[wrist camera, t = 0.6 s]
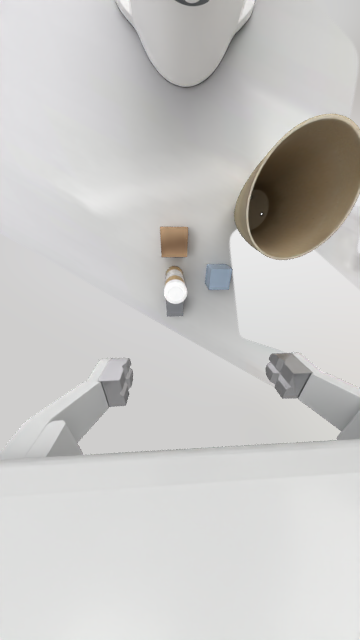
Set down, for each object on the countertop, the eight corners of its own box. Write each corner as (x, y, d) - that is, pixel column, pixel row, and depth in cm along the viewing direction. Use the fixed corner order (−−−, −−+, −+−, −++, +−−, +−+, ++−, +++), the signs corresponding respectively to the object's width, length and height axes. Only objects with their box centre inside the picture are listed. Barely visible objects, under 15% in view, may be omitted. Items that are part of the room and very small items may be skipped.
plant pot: (296, 163, 30) (398, 114, 17) (272, 246, 38) (328, 259, 24) (221, 163, 29) (264, 111, 16) (213, 247, 37) (237, 260, 24)
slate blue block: (206, 264, 40) (211, 269, 35) (225, 264, 40) (232, 269, 36) (205, 283, 42) (208, 289, 38) (222, 283, 42) (228, 289, 38)
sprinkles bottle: (174, 286, 42) (175, 309, 31) (162, 274, 40) (158, 293, 29) (186, 274, 41) (192, 294, 29) (174, 261, 39) (176, 277, 27)
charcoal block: (166, 294, 43) (166, 301, 40) (182, 294, 44) (183, 301, 40) (167, 308, 46) (166, 316, 42) (182, 308, 46) (183, 316, 42)
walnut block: (161, 226, 35) (160, 227, 30) (185, 226, 35) (188, 227, 30) (162, 252, 38) (161, 256, 33) (185, 252, 38) (187, 256, 33)
